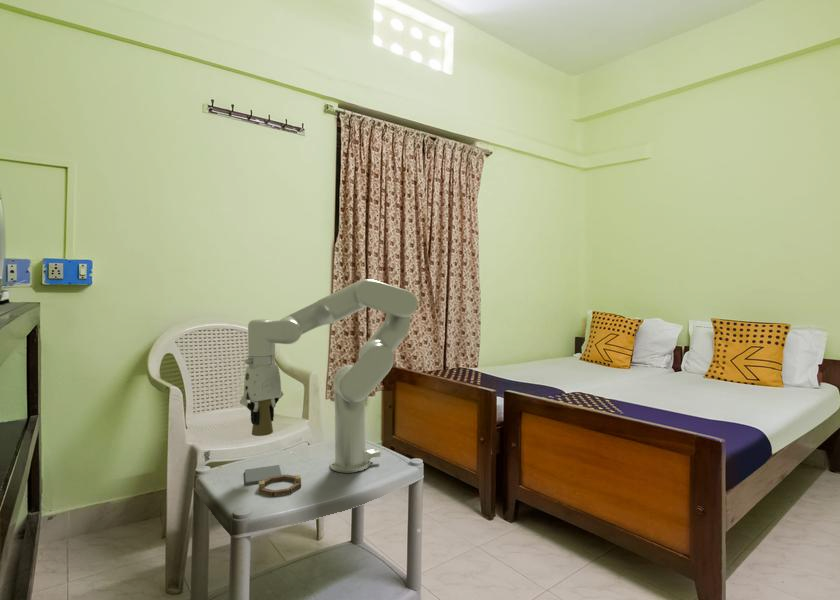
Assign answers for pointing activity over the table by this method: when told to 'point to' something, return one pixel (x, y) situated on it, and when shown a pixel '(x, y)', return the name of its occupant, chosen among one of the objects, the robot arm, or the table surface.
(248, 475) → the pad
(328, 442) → the table surface
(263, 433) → the cork
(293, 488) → the collar
